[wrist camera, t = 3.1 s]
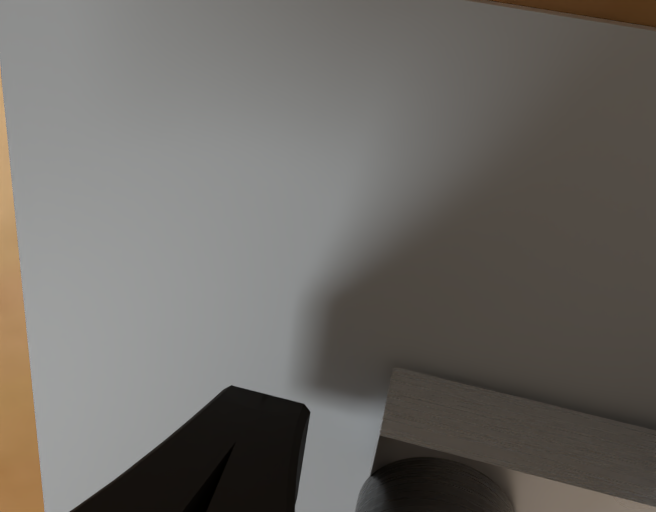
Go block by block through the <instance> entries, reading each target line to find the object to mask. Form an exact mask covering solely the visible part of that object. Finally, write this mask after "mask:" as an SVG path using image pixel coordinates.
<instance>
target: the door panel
mask: <svg viewBox="0 0 656 512" xmlns="http://www.w3.org/2000/svg"><path fill="white" fill-rule="evenodd" d="M0 66H1V77H2V87H3V97H4V107H5V117H6V127H7V137H8V147H9V157H10V167H11V177H12V187H13V197H14V207H15V217H16V227H17V237H18V247H19V257H20V268H21V278H22V288H23V298H24V308H25V318H26V328H27V338H28V348H29V358H30V368H31V378H32V388H33V398H34V408H35V418H36V428H37V438H38V448H39V459H40V469H41V479H42V489H43V499H44V509H45V512H70V511H71V510H72V509H74V508H75V507H77V506H78V505H80V504H81V503H82V502H84V501H85V500H87V499H88V498H89V497H91V496H92V495H94V494H95V493H96V492H98V491H99V490H101V489H102V488H103V487H105V486H106V485H108V484H109V483H110V482H112V481H113V480H114V479H116V478H117V477H118V476H120V475H121V474H122V473H124V472H125V471H126V470H127V469H129V468H130V467H131V466H133V465H134V464H135V463H136V462H138V461H139V460H140V459H141V458H143V457H144V456H145V455H147V454H148V453H149V452H150V451H152V450H153V449H154V448H155V447H157V446H158V445H159V444H160V443H162V442H163V441H164V440H165V439H167V438H168V437H169V436H170V435H171V434H173V433H174V432H175V431H176V430H177V429H179V428H180V427H181V426H182V425H183V424H185V423H186V422H187V421H188V420H189V419H190V418H192V417H193V416H194V415H195V414H196V413H197V412H199V411H200V410H201V409H202V408H203V407H204V406H205V405H207V404H208V403H209V402H210V401H211V400H212V399H213V398H214V397H216V396H217V395H218V394H219V393H220V392H221V391H222V390H223V389H225V388H227V387H229V386H230V385H233V386H236V387H240V388H244V389H248V390H252V391H256V392H260V393H264V394H268V395H272V396H276V397H280V398H284V399H288V400H292V401H296V402H299V403H303V404H305V405H306V407H307V408H308V409H309V411H310V419H309V425H308V431H307V438H306V444H305V451H304V457H303V463H302V470H301V476H300V482H299V489H298V495H297V500H296V504H295V512H355V508H356V504H357V499H358V495H359V492H360V490H361V488H362V486H363V484H364V483H365V481H366V480H367V479H368V475H369V471H370V467H371V462H372V458H373V454H374V449H375V445H376V441H377V436H378V432H379V428H380V423H381V419H382V415H383V410H384V406H385V402H386V397H387V393H388V389H389V384H390V380H391V375H392V371H393V367H398V368H403V369H407V370H411V371H415V372H419V373H423V374H427V375H431V376H435V377H439V378H443V379H448V380H452V381H456V382H460V383H464V384H468V385H472V386H476V387H480V388H484V389H489V390H493V391H497V392H501V393H505V394H509V395H513V396H517V397H521V398H525V399H529V400H534V401H538V402H542V403H546V404H550V405H554V406H558V407H562V408H566V409H570V410H575V411H579V412H583V413H587V414H591V415H595V416H599V417H603V418H607V419H611V420H615V421H620V422H624V423H628V424H632V425H636V426H640V427H644V428H648V429H652V430H656V27H650V26H644V25H638V24H632V23H625V22H619V21H613V20H607V19H601V18H594V17H588V16H582V15H576V14H569V13H563V12H557V11H551V10H545V9H538V8H532V7H526V6H520V5H514V4H507V3H501V2H495V1H489V0H0Z"/></svg>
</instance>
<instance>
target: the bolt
mask: <svg viewBox="0 0 656 512" xmlns="http://www.w3.org/2000/svg"><path fill="white" fill-rule="evenodd" d="M355 512H656V430H652V429H648V428H644V427H640V426H636V425H632V424H628V423H624V422H620V421H615V420H611V419H607V418H603V417H599V416H595V415H591V414H587V413H583V412H579V411H575V410H570V409H566V408H562V407H558V406H554V405H550V404H546V403H542V402H538V401H534V400H529V399H525V398H521V397H517V396H513V395H509V394H505V393H501V392H497V391H493V390H489V389H484V388H480V387H476V386H472V385H468V384H464V383H460V382H456V381H452V380H448V379H443V378H439V377H435V376H431V375H427V374H423V373H419V372H415V371H411V370H407V369H403V368H398V367H393V371H392V375H391V380H390V384H389V389H388V393H387V397H386V402H385V406H384V410H383V415H382V419H381V423H380V428H379V432H378V436H377V441H376V445H375V449H374V454H373V458H372V462H371V467H370V471H369V475H368V479H367V480H366V481H365V483H364V484H363V486H362V488H361V490H360V492H359V495H358V499H357V504H356V508H355Z"/></svg>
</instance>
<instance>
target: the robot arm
mask: <svg viewBox="0 0 656 512" xmlns="http://www.w3.org/2000/svg"><path fill="white" fill-rule="evenodd" d="M309 419H310V411H309V409H308V408H307V407H306V405H305V404H303V403H299V402H296V401H292V400H288V399H284V398H280V397H276V396H272V395H268V394H264V393H260V392H256V391H252V390H248V389H244V388H240V387H236V386H233V385H230V386H229V387H227V388H225V389H223V390H222V391H221V392H220V393H219V394H218V395H217V396H216V397H214V398H213V399H212V400H211V401H210V402H209V403H208V404H207V405H205V406H204V407H203V408H202V409H201V410H200V411H199V412H197V413H196V414H195V415H194V416H193V417H192V418H190V419H189V420H188V421H187V422H186V423H185V424H183V425H182V426H181V427H180V428H179V429H177V430H176V431H175V432H174V433H173V434H171V435H170V436H169V437H168V438H167V439H165V440H164V441H163V442H162V443H160V444H159V445H158V446H157V447H155V448H154V449H153V450H152V451H150V452H149V453H148V454H147V455H145V456H144V457H143V458H141V459H140V460H139V461H138V462H136V463H135V464H134V465H133V466H131V467H130V468H129V469H127V470H126V471H125V472H124V473H122V474H121V475H120V476H118V477H117V478H116V479H114V480H113V481H112V482H110V483H109V484H108V485H106V486H105V487H103V488H102V489H101V490H99V491H98V492H96V493H95V494H94V495H92V496H91V497H89V498H88V499H87V500H85V501H84V502H82V503H81V504H80V505H78V506H77V507H75V508H74V509H72V510H71V511H70V512H295V504H296V500H297V495H298V489H299V482H300V476H301V470H302V463H303V457H304V451H305V444H306V438H307V431H308V425H309Z"/></svg>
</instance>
